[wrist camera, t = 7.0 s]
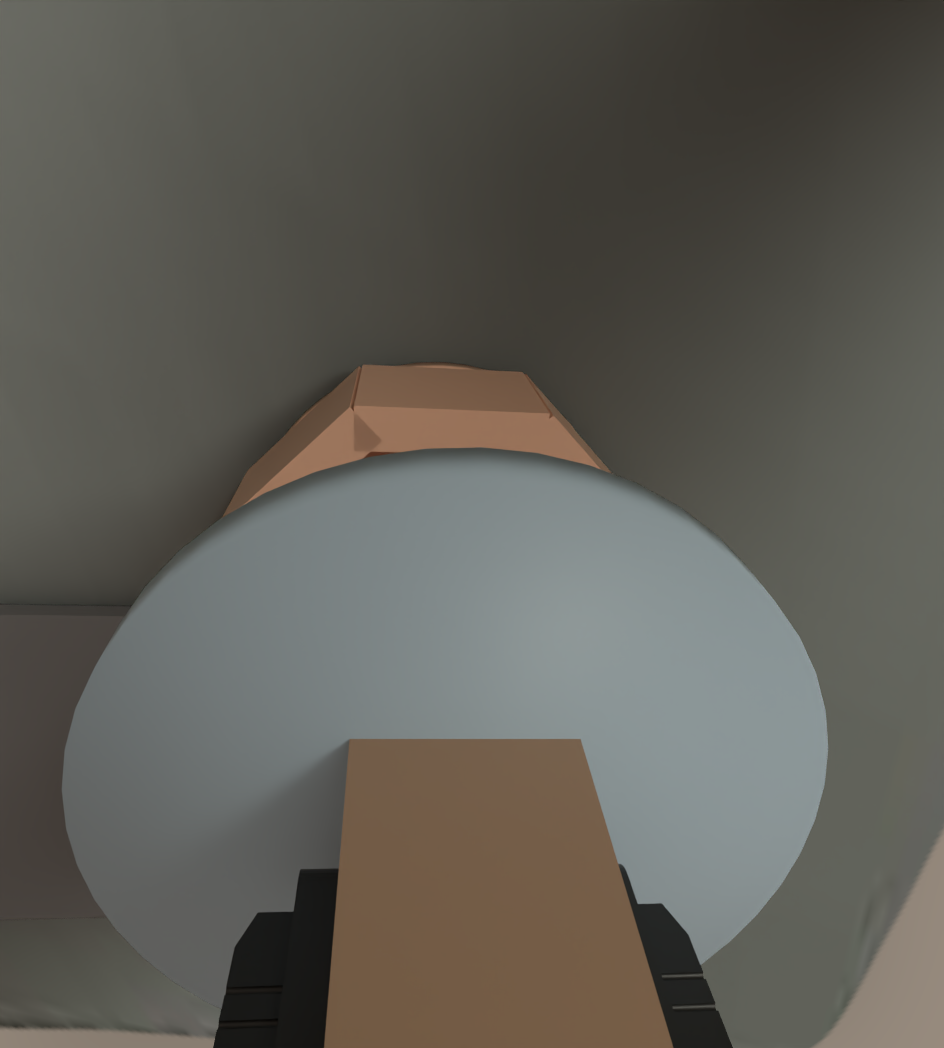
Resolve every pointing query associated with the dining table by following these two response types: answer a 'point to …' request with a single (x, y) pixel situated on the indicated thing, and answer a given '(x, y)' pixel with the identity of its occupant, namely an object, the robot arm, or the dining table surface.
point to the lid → (449, 746)
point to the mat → (43, 752)
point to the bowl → (416, 422)
